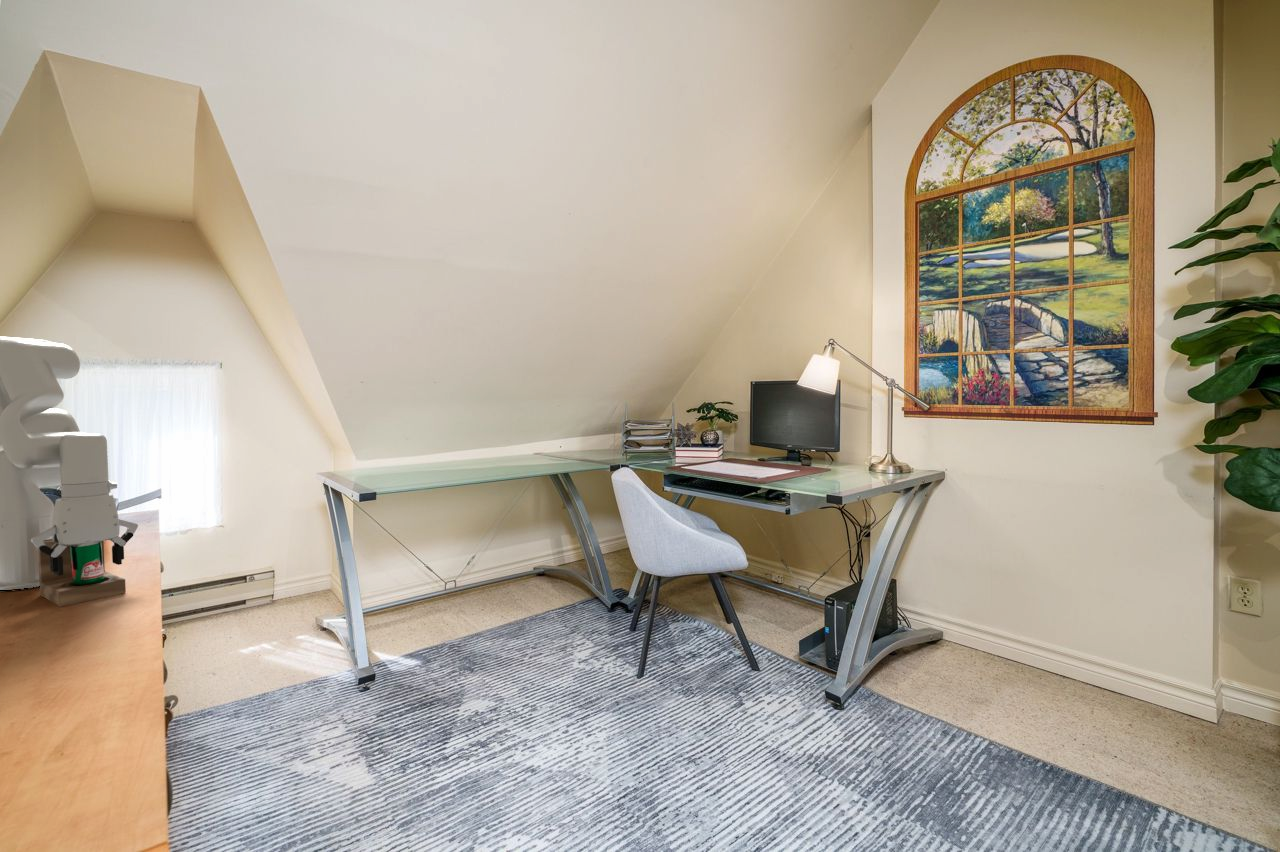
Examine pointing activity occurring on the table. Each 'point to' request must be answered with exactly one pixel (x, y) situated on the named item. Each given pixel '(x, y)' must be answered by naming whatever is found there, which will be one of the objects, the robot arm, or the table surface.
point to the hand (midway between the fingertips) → (88, 568)
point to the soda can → (86, 563)
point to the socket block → (62, 587)
